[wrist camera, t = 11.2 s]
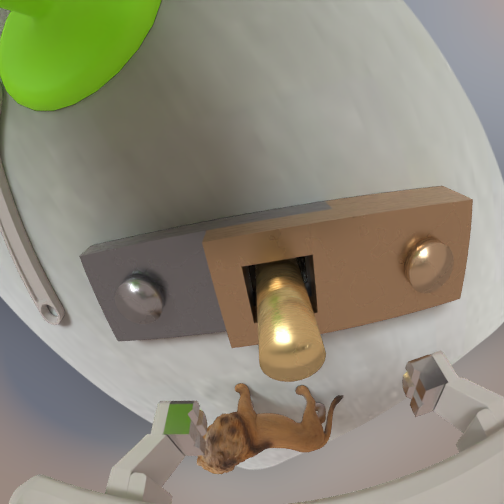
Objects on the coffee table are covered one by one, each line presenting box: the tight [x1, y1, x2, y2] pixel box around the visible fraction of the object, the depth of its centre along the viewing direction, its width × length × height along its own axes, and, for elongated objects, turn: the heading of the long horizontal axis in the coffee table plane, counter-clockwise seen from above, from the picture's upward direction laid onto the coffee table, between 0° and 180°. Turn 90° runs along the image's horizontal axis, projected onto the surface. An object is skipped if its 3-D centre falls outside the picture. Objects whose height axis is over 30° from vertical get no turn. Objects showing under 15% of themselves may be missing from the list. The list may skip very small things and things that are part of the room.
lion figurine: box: [197, 383, 343, 474], centre depth 24 cm, size 15×5×9 cm, turn 91°
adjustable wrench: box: [0, 83, 65, 325], centre depth 19 cm, size 25×6×2 cm, turn 10°
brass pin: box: [255, 257, 326, 382], centre depth 17 cm, size 3×3×10 cm
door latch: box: [79, 186, 473, 348], centre depth 19 cm, size 8×28×5 cm, turn 100°
